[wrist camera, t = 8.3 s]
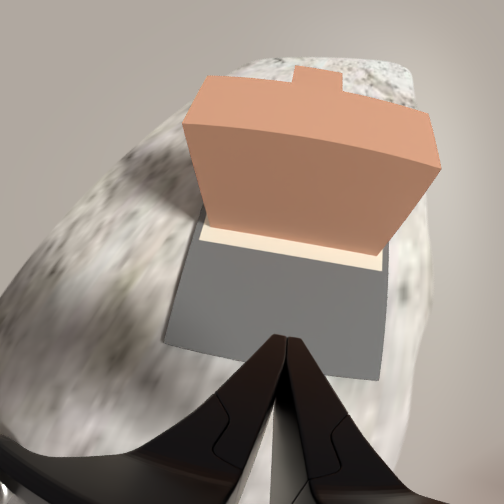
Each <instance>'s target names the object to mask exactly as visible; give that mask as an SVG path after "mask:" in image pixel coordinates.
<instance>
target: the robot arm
mask: <svg viewBox="0 0 504 504" xmlns="http://www.w3.org/2000/svg"><path fill="white" fill-rule="evenodd" d="M273 405H274V413H273V442H272V466H271V487H270V504H448V503H445V502H441V501H438V500H434V499H431V498H428V497H424V496H421V495H419V494H416V493H415V492H413V491H411V490H410V489H409V488H407V487H406V486H405V485H404V484H403V483H402V482H401V481H400V480H399V479H398V477H397V476H396V475H395V474H394V473H393V472H392V470H391V469H390V468H389V467H388V466H387V465H386V463H385V462H384V461H383V460H382V459H381V457H380V456H379V455H378V454H377V453H376V451H375V450H374V449H373V448H372V446H371V445H370V444H369V443H368V441H367V440H366V439H365V437H364V436H363V435H362V433H361V432H360V430H359V429H358V427H357V426H356V424H355V423H354V421H353V420H352V418H351V416H350V415H348V412H347V410H346V409H345V407H344V405H343V404H342V402H341V401H340V399H339V397H338V396H337V394H336V393H335V391H334V390H333V388H332V386H331V385H330V383H329V382H328V380H327V378H326V377H325V375H324V374H323V372H322V370H321V369H320V367H319V366H318V364H317V362H316V361H315V359H314V358H313V356H312V354H311V353H310V351H309V350H308V348H307V346H306V345H305V343H304V342H303V340H302V339H301V338H297V337H291V336H289V337H286V336H285V335H279V334H272V335H271V336H270V337H269V338H268V339H267V340H266V341H265V343H264V344H263V345H262V346H261V347H260V348H259V349H258V350H257V351H256V352H255V353H254V354H253V355H252V356H251V357H250V358H249V359H248V360H247V361H246V362H245V363H244V364H243V365H242V366H241V367H240V368H239V369H238V370H237V371H236V372H235V373H234V374H233V375H232V376H231V377H230V378H229V379H228V380H227V381H226V382H225V383H224V384H223V385H222V386H221V387H220V388H219V389H218V390H217V391H216V392H215V393H214V394H212V395H211V396H210V397H209V398H208V399H207V400H206V401H205V402H204V403H203V404H202V405H200V406H199V407H198V408H197V409H196V410H195V411H193V412H192V413H191V414H189V415H188V416H187V417H185V418H184V419H183V420H181V421H180V422H178V423H177V424H175V425H174V426H172V427H171V428H169V429H168V430H166V431H165V432H163V433H162V434H160V435H158V436H157V437H155V438H154V439H152V440H151V441H149V442H147V443H146V444H144V445H142V446H141V447H139V448H137V449H135V450H133V451H130V452H127V453H123V454H117V455H105V456H89V457H48V456H43V455H39V454H36V453H33V452H31V451H29V450H27V449H25V448H23V447H22V446H20V445H19V444H18V443H16V442H15V441H13V440H12V439H10V438H9V437H7V436H5V435H1V434H0V482H1V483H2V484H3V485H5V486H6V487H7V488H8V489H9V490H10V491H11V492H12V493H13V495H12V497H11V498H10V500H9V501H8V503H7V504H238V503H239V500H240V498H241V495H242V493H243V490H244V488H245V485H246V482H247V480H248V477H249V474H250V472H251V469H252V466H253V464H254V461H255V458H256V456H257V453H258V450H259V447H260V444H261V441H262V439H263V436H264V433H265V430H266V427H267V424H268V421H269V418H270V415H271V412H272V409H273Z"/></svg>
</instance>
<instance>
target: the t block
mask: <svg viewBox="0 0 504 504" xmlns="http://www.w3.org/2000/svg"><path fill="white" fill-rule="evenodd" d="M182 125H183V129H184V133H185V137H186V140H187V144H188V148H189V152H190V155H191V159H192V163H193V166H194V170H195V174H196V177H197V181H198V184H199V188H200V192H201V195H202V199H203V202H204V206H205V209H206V213H207V216H208V220H209V223H210V227H213V228H219V229H225V230H231V231H237V232H243V233H249V234H255V235H260V236H266V237H272V238H278V239H284V240H289V241H295V242H301V243H307V244H312V245H318V246H323V247H329V248H335V249H340V250H346V251H351V252H357V253H362V254H367V255H373V256H378V254H379V253H380V252H381V251H382V249H383V248H384V247H385V246H386V244H387V243H388V242H389V240H390V239H391V238H392V237H393V235H394V234H395V233H396V231H397V230H398V229H399V227H400V226H401V225H402V224H403V222H404V221H405V220H406V218H407V217H408V216H409V214H410V213H411V211H412V210H413V209H414V207H415V206H416V205H417V203H418V202H419V201H420V199H421V198H422V196H423V195H424V194H425V192H426V191H427V189H428V188H429V186H430V185H431V183H432V182H433V181H434V179H435V178H436V176H437V175H438V173H439V172H440V170H441V164H440V159H439V154H438V150H437V145H436V141H435V137H434V133H433V129H432V126H431V122H430V118H429V115H428V113H424V112H421V111H418V110H415V109H412V108H408V107H405V106H401V105H398V104H394V103H390V102H387V101H383V100H379V99H375V98H371V97H367V96H362V95H358V94H353V93H349V92H344V91H342V73H339V72H333V71H328V70H322V69H316V68H310V67H303V66H296V65H295V70H294V74H293V79H292V83H291V82H283V81H275V80H265V79H255V78H243V77H229V76H207V77H206V79H205V81H204V83H203V85H202V86H201V88H200V90H199V92H198V94H197V95H196V97H195V99H194V101H193V103H192V105H191V107H190V109H189V111H188V113H187V114H186V116H185V118H184V120H183V122H182Z"/></svg>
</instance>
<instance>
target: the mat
mask: <svg viewBox="0 0 504 504" xmlns="http://www.w3.org/2000/svg"><path fill="white" fill-rule="evenodd" d="M388 261H389V242H388V243H387V244H386V246H385V247H384V248H383V249H382V251H381V252H380V253H379V254H378V256H373V255H367V254H362V253H357V252H351V251H346V250H340V249H335V248H329V247H323V246H318V245H312V244H307V243H301V242H295V241H289V240H284V239H278V238H272V237H266V236H260V235H255V234H249V233H243V232H237V231H231V230H225V229H219V228H213V227H210V223H209V220H208V216H207V213H206V209H205V206H204V203H203V206H202V209H201V213H200V216H199V219H198V222H197V225H196V228H195V232H194V235H193V238H192V242H191V245H190V248H189V252H188V255H187V258H186V262H185V265H184V269H183V272H182V276H181V279H180V283H179V286H178V290H177V293H176V297H175V301H174V304H173V308H172V312H171V316H170V319H169V323H168V327H167V331H166V335H165V339H164V343H165V344H168V345H172V346H176V347H180V348H184V349H188V350H192V351H196V352H200V353H205V354H209V355H214V356H218V357H223V358H227V359H232V360H237V361H242V362H246V361H247V360H248V359H249V358H250V357H251V356H252V355H253V354H254V353H255V352H256V351H257V350H258V349H259V348H260V347H261V346H262V345H263V344H264V343H265V341H266V340H267V339H268V338H269V337H270V336H271V335H272V334H279V335H285V336H286V337H289V336H291V337H297V338H301V339H302V340H303V342H304V343H305V345H306V346H307V348H308V350H309V351H310V353H311V354H312V356H313V358H314V359H315V361H316V362H317V364H318V366H319V367H320V369H321V370H322V372H323V374H324V375H328V376H336V377H345V378H354V379H364V380H375V381H378V380H379V376H380V369H381V361H382V352H383V343H384V333H385V321H386V307H387V290H388Z"/></svg>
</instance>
